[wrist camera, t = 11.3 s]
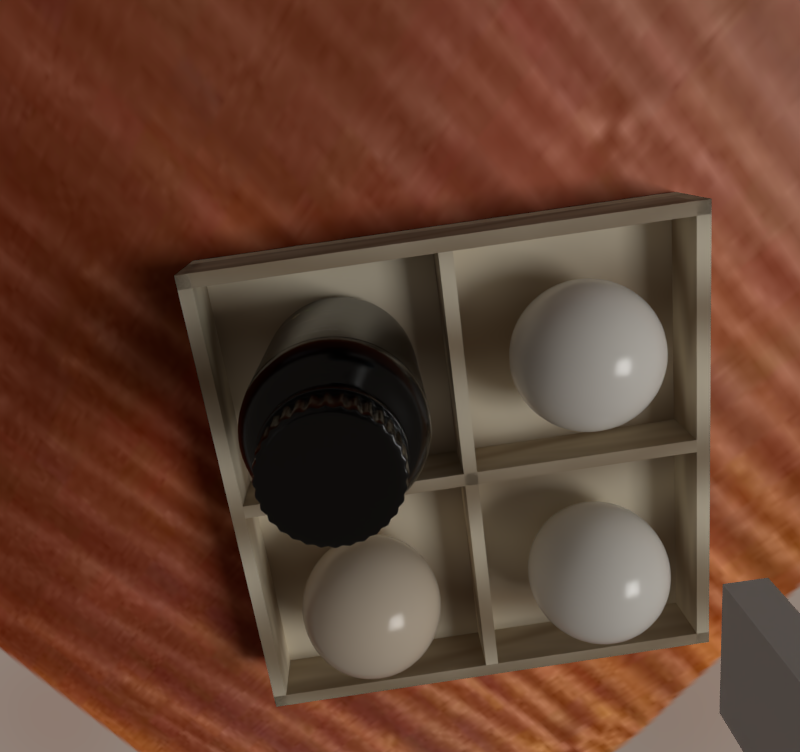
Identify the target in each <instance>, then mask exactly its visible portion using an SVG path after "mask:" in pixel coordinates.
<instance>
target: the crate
mask: <svg viewBox="0 0 800 752" xmlns="http://www.w3.org/2000/svg"><path fill="white" fill-rule="evenodd" d="M174 278H175V282H176V286H177V290H178V295H179V299H180V303H181V307H182V311H183V316H184V320H185V324H186V328H187V332H188V337H189V341H190V345H191V349H192V353H193V358H194V362H195V366H196V370H197V375H198V379H199V383H200V387H201V391H202V396H203V400H204V404H205V408H206V412H207V417H208V421H209V425H210V429H211V433H212V438H213V442H214V446H215V450H216V455H217V459H218V463H219V467H220V471H221V476H222V480H223V484H224V488H225V492H226V497H227V501H228V505H229V509H230V513H231V518H232V522H233V526H234V530H235V535H236V539H237V543H238V547H239V551H240V556H241V560H242V564H243V568H244V572H245V577H246V581H247V585H248V589H249V593H250V598H251V602H252V606H253V610H254V614H255V619H256V623H257V627H258V631H259V636H260V640H261V644H262V648H263V652H264V657H265V661H266V665H267V669H268V673H269V678H270V682H271V686H272V690H273V694H274V699H275V703H276V707H277V706H284V705H290V704H297V703H304V702H310V701H317V700H324V699H330V698H337V697H344V696H350V695H357V694H364V693H370V692H377V691H384V690H390V689H397V688H404V687H410V686H417V685H424V684H430V683H437V682H444V681H450V680H457V679H464V678H470V677H477V676H484V675H490V674H497V673H504V672H510V671H517V670H524V669H531V668H537V667H544V666H551V665H557V664H564V663H571V662H577V661H584V660H591V659H597V658H604V657H611V656H617V655H624V654H631V653H637V652H644V651H651V650H657V649H664V648H671V647H677V646H684V645H691V644H697V643H704V642H709V517H710V356H711V199H710V198H705V197H699V196H694V195H689V194H684V193H678V192H671V193H664V194H657V195H650V196H643V197H636V198H629V199H622V200H615V201H608V202H601V203H594V204H587V205H580V206H573V207H566V208H559V209H553V210H546V211H539V212H532V213H525V214H518V215H511V216H504V217H497V218H490V219H483V220H476V221H469V222H462V223H455V224H448V225H441V226H434V227H427V228H420V229H413V230H406V231H399V232H392V233H385V234H378V235H371V236H364V237H357V238H350V239H343V240H336V241H329V242H322V243H315V244H308V245H301V246H294V247H287V248H280V249H273V250H266V251H259V252H252V253H245V254H238V255H231V256H224V257H217V258H210V259H203V260H196V261H192V262H191V263H190V264H188V265H187V266H186V267H184V268H183V269H182V270H181V271H179V272H178V273H177V274H176V275H174ZM583 278H595V279H603V280H609V281H612V282H615V283H618V284H620V285H623V286H625V287H627V288H629V289H631V290H632V291H633V292H635V293H636V294H638V295H639V296H640V297H641V298H643V299H644V300H645V301H646V302H647V303H648V304H649V305H650V307H651V308H652V309H653V311H654V312H655V314H656V315H657V317H658V319H659V320H660V322H661V324H662V327H663V330H664V332H665V337H666V341H667V348H668V362H667V368H666V373H665V376H664V379H663V382H662V385H661V387H660V389H659V391H658V393H657V394H656V396H655V397H654V399H653V400H652V401H651V403H650V404H649V405H648V406H647V407H646V408H645V409H644V410H643V411H642V412H641V413H640V414H638V415H637V416H636V417H635V418H633V419H631V420H630V421H628V422H626V423H624V424H622V425H620V426H618V427H615V428H612V429H608V430H603V431H597V432H578V431H572V430H568V429H564V428H561V427H558V426H556V425H554V424H551V423H550V422H548V421H546V420H545V419H543V418H542V417H540V416H539V415H538V414H536V413H535V412H534V411H533V410H532V409H531V408H530V407H529V406H528V405H527V403H526V402H525V401H524V400H523V398H522V397H521V395H520V394H519V392H518V390H517V388H516V386H515V384H514V381H513V378H512V375H511V371H510V364H509V348H510V341H511V337H512V333H513V330H514V328H515V325H516V323H517V321H518V319H519V318H520V316H521V314H522V313H523V312H524V310H525V309H526V307H527V306H528V305H529V304H530V303H531V302H532V301H533V300H534V299H535V298H536V297H538V296H539V295H540V294H541V293H543V292H544V291H546V290H548V289H549V288H551V287H553V286H555V285H557V284H560V283H563V282H566V281H570V280H574V279H583ZM331 297H350V298H356V299H361V300H364V301H367V302H370V303H372V304H374V305H376V306H378V307H380V308H382V309H383V310H385V311H386V312H387V313H389V314H390V315H391V316H392V317H393V318H394V319H395V320H396V321H397V322H398V323H399V324H400V325H401V327H402V328H403V329H404V331H405V332H406V334H407V336H408V337H409V339H410V341H411V344H412V346H413V349H414V352H415V355H416V359H417V363H418V366H419V370H420V374H421V378H422V382H423V386H424V390H425V394H426V398H427V402H428V406H429V411H430V417H431V443H430V449H429V453H428V457H427V459H426V462H425V465H424V467H423V469H422V471H421V473H420V475H419V476H418V478H417V480H416V481H415V482H414V484H413V485H412V486H411V488H410V489H409V490H408V491H407V492H406V493H405V494H404V495H405V500H404V502H403V503H402V504H401V506H399V510H398V514H397V515H396V516H394V517H393V518H391V520H390V523H389V525H388V526H386V527H384V528H381V530H380V531H379V533H378V534H381V535H387V536H391V537H394V538H396V539H399V540H401V541H403V542H405V543H407V544H408V545H410V546H411V547H413V548H414V549H415V550H416V551H417V552H418V553H419V554H420V555H421V556H422V557H423V558H424V559H425V560H426V562H427V563H428V564H429V566H430V568H431V570H432V571H433V573H434V575H435V578H436V580H437V583H438V587H439V591H440V598H441V614H440V621H439V625H438V629H437V631H436V634H435V636H434V639H433V641H432V642H431V644H430V646H429V647H428V649H427V650H426V652H425V653H424V654H423V655H422V657H421V658H420V659H419V660H418V661H416V662H415V663H414V664H413V665H411V666H410V667H409V668H407V669H406V670H404V671H402V672H400V673H398V674H396V675H393V676H390V677H386V678H380V679H362V678H356V677H352V676H349V675H346V674H344V673H342V672H340V671H338V670H336V669H335V668H333V667H332V666H330V665H329V664H328V663H327V662H326V661H325V660H324V659H323V658H322V657H321V656H320V655H319V654H318V652H317V651H316V650H315V648H314V647H313V645H312V643H311V641H310V639H309V637H308V635H307V632H306V629H305V625H304V620H303V613H302V608H303V595H304V590H305V586H306V583H307V580H308V578H309V575H310V573H311V572H312V570H313V568H314V566H315V565H316V563H317V562H318V561H319V560H320V558H321V557H322V556H323V555H324V554H325V553H326V552H327V551H328V550H330V549H331V548H332V547H329V546H327V547H322V548H320V547H318V546H316V545H306V544H304V543H303V542H302V541H300V540H294V539H292V538H291V537H290V536H289V535H288V534H286V533H283V532H280V531H279V529H278V528H277V526H276V525H274V524H272V523H271V522H269V520H268V516H267V515H266V514H265V513H263V512H262V511H261V509H260V503H259V502H258V501H257V500H256V498H255V488H254V487H253V485H252V477H251V476H250V474H249V472H248V470H247V468H246V466H245V464H244V461H243V459H242V455H241V452H240V448H239V442H238V418H239V412H240V408H241V405H242V401H243V398H244V396H245V393H246V391H247V388H248V386H249V384H250V382H251V380H252V378H253V376H254V374H255V372H256V370H257V368H258V366H259V364H260V362H261V360H262V358H263V356H264V354H265V352H266V350H267V348H268V346H269V344H270V342H271V340H272V338H273V337H274V335H275V333H276V332H277V330H278V329H279V327H280V326H281V325H282V324H283V322H284V321H285V320H286V319H287V318H288V317H289V316H290V315H292V314H293V313H294V312H295V311H297V310H298V309H300V308H301V307H303V306H305V305H307V304H309V303H312V302H314V301H317V300H321V299H325V298H331ZM589 501H600V502H607V503H612V504H616V505H619V506H621V507H624V508H626V509H628V510H630V511H632V512H634V513H635V514H637V515H638V516H640V517H641V518H642V519H643V520H644V521H646V522H647V523H648V524H649V525H650V527H651V528H652V529H653V530H654V531H655V532H656V534H657V535H658V537H659V538H660V540H661V542H662V543H663V545H664V548H665V550H666V553H667V556H668V559H669V563H670V571H671V585H670V592H669V596H668V599H667V602H666V604H665V607H664V609H663V611H662V613H661V614H660V616H659V617H658V618H657V620H656V621H655V622H654V623H653V624H652V625H651V626H650V627H649V628H648V629H647V630H645V631H644V632H643V633H641V634H640V635H638V636H636V637H634V638H632V639H630V640H627V641H624V642H619V643H614V644H594V643H589V642H585V641H581V640H578V639H576V638H573V637H572V636H570V635H568V634H566V633H564V632H563V631H561V630H560V629H559V628H557V627H556V626H555V625H554V624H553V623H552V622H551V621H550V620H549V619H548V618H547V617H546V616H545V615H544V613H543V612H542V611H541V609H540V608H539V606H538V604H537V602H536V600H535V598H534V596H533V593H532V590H531V587H530V583H529V578H528V559H529V553H530V549H531V545H532V543H533V541H534V538H535V536H536V535H537V533H538V531H539V530H540V528H541V527H542V526H543V524H544V523H545V522H546V521H547V520H548V519H549V518H550V517H552V516H553V515H554V514H555V513H557V512H559V511H560V510H562V509H564V508H566V507H568V506H571V505H574V504H577V503H582V502H589Z"/></svg>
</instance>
